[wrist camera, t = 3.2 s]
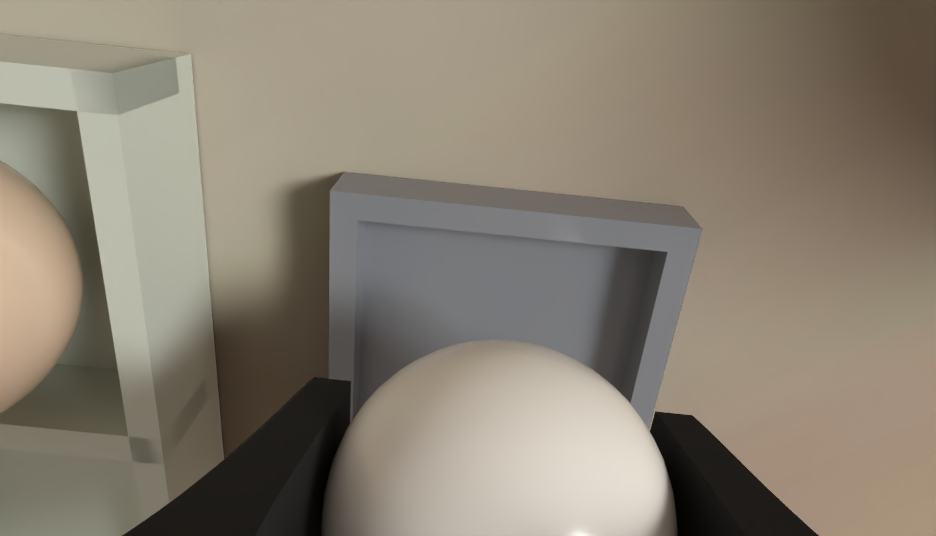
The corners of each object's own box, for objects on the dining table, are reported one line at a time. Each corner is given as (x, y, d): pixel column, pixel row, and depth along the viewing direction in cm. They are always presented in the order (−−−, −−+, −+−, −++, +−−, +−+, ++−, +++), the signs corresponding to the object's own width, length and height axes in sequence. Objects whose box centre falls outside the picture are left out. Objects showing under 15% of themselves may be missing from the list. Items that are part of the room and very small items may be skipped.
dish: (617, 470, 15) (627, 508, 14) (340, 442, 15) (328, 479, 14) (683, 207, 12) (702, 228, 11) (344, 172, 12) (329, 190, 11)
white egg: (607, 523, 13) (672, 830, 8) (356, 498, 13) (277, 792, 8) (663, 299, 11) (794, 539, 6) (363, 268, 10) (263, 486, 6)
